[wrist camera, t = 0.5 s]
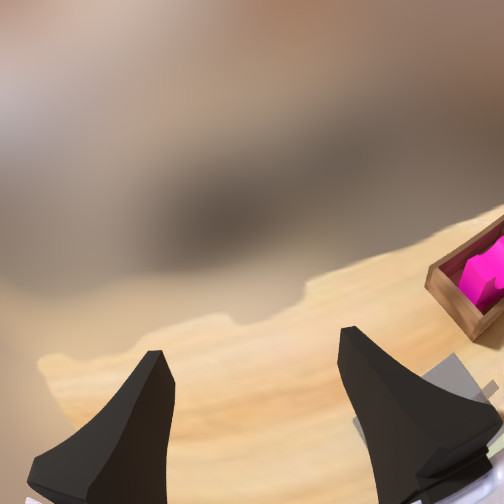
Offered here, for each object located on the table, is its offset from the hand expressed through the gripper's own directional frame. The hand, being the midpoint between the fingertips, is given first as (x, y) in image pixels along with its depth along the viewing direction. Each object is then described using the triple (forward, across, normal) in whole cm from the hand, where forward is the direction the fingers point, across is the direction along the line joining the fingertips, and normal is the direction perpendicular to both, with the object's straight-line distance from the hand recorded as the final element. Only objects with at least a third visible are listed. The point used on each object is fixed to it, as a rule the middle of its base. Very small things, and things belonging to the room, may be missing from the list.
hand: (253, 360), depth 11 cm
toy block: (+16, -34, +12) cm, 39 cm away
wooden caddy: (+16, -34, +11) cm, 39 cm away
